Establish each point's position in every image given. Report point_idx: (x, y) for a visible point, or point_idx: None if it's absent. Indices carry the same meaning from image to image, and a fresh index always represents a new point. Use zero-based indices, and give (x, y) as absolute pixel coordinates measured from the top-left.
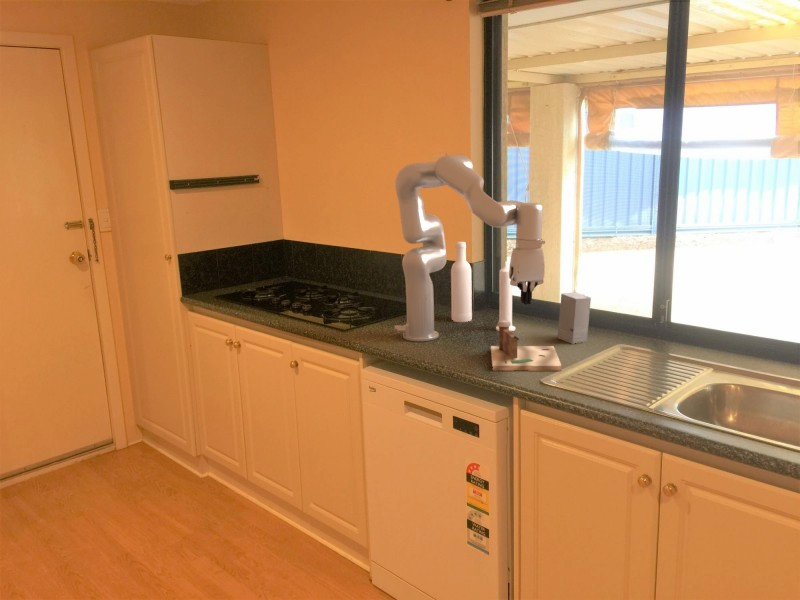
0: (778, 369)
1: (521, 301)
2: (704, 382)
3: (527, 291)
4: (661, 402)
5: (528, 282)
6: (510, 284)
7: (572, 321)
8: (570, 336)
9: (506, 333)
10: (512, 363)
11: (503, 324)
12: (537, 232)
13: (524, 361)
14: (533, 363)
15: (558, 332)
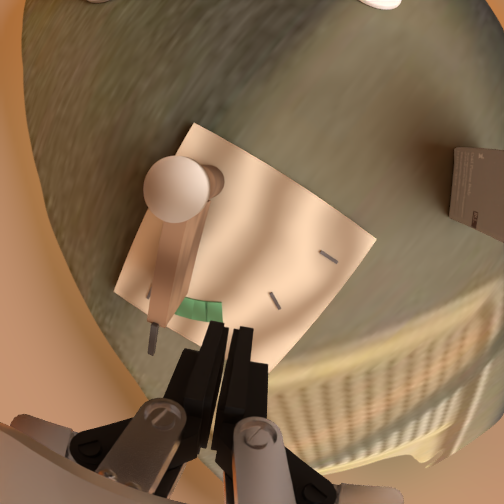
0: (476, 433)
1: (210, 321)
2: (392, 456)
3: (213, 438)
4: None
5: (241, 499)
6: (22, 415)
7: (493, 229)
8: (461, 212)
9: (158, 255)
10: None
11: (156, 216)
12: None
13: (196, 316)
14: None
15: (465, 150)
